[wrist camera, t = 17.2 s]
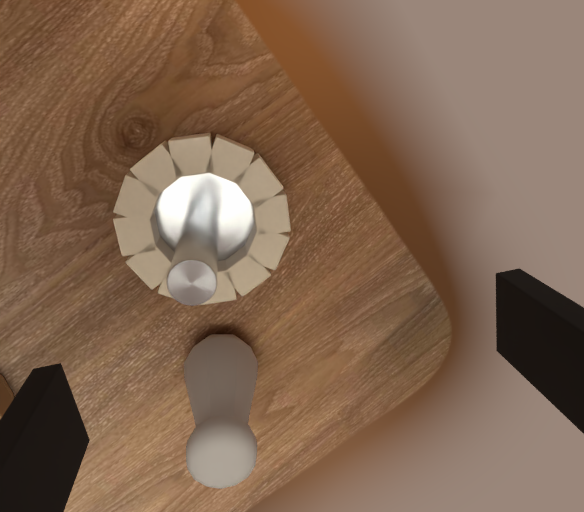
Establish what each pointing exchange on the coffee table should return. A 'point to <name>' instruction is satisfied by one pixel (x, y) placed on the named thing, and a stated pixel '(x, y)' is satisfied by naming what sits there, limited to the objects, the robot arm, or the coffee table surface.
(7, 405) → the alarm clock
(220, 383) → the salt shaker
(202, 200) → the post
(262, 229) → the ring
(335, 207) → the coffee table surface
